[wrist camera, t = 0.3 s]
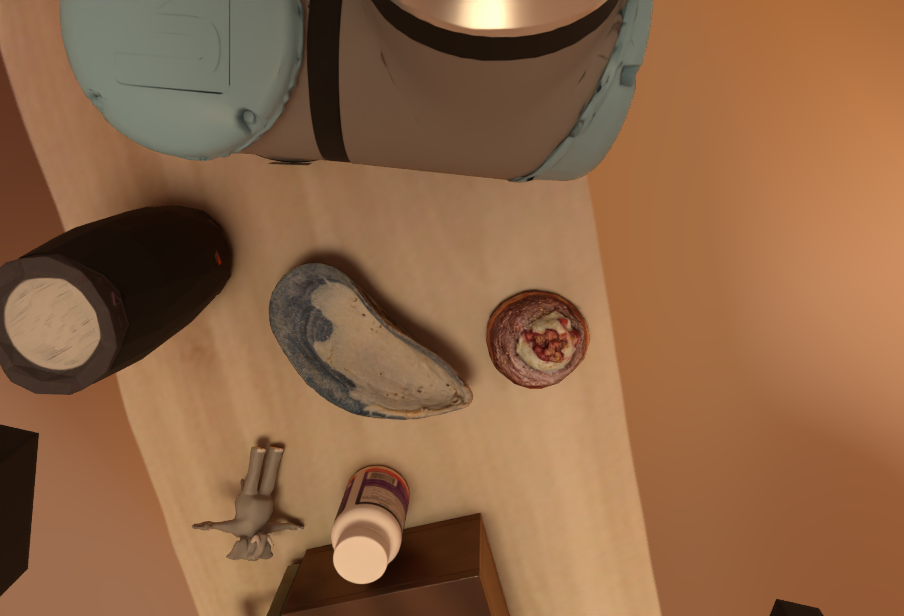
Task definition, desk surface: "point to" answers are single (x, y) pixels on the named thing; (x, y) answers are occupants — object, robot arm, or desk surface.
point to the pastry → (536, 339)
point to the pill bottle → (369, 524)
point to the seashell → (358, 349)
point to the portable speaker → (107, 295)
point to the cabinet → (408, 578)
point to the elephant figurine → (254, 510)
